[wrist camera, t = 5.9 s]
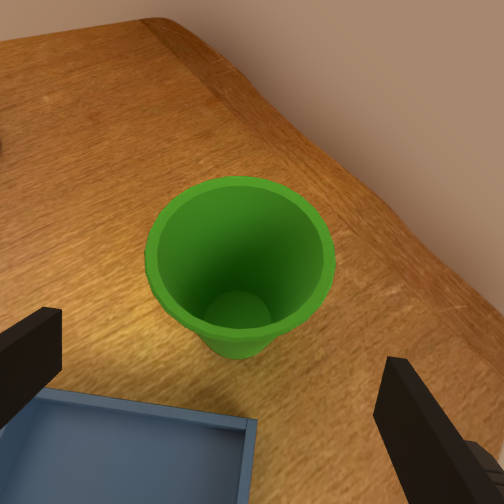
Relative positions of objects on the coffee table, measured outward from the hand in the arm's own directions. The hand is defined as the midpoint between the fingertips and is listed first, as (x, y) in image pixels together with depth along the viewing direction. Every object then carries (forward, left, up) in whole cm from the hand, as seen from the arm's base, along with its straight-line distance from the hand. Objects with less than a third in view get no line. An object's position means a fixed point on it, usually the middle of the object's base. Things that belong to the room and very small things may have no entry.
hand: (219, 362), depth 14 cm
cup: (0, -5, -11) cm, 12 cm away
